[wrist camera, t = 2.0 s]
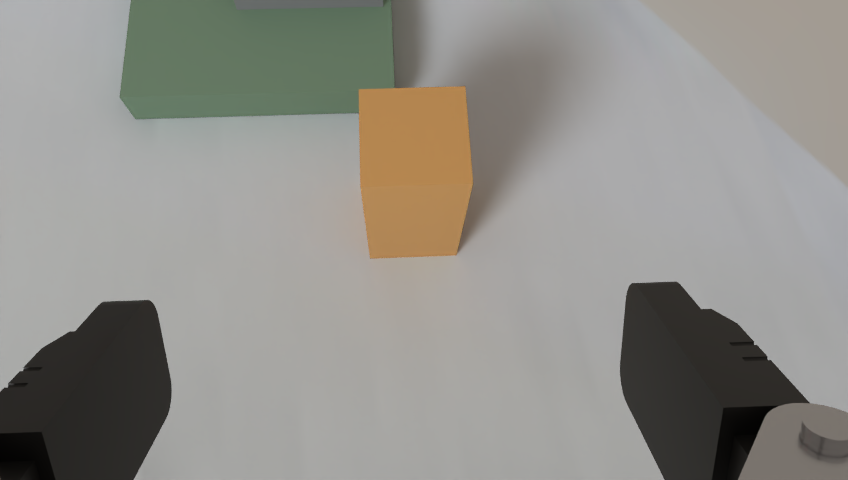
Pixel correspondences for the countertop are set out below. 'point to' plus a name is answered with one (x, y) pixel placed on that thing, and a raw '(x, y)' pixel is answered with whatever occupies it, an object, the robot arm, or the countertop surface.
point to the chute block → (414, 169)
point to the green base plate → (254, 56)
